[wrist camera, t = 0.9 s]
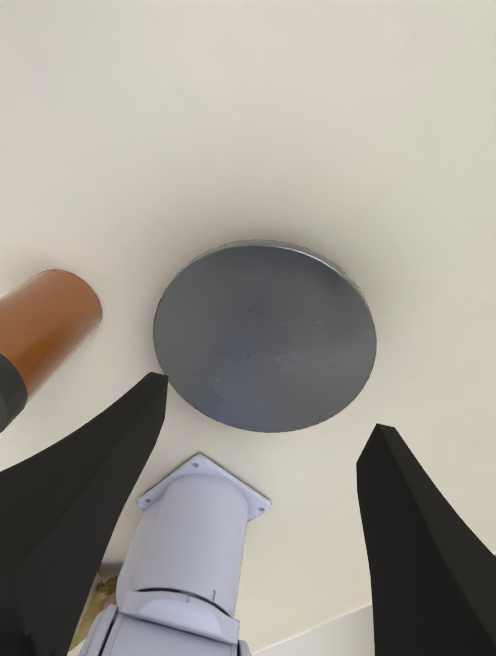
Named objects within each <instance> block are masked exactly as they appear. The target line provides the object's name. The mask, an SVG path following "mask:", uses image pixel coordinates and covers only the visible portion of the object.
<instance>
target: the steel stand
mask: <svg viewBox="0 0 496 656" xmlns="http://www.w3.org/2000/svg"><path fill="white" fill-rule="evenodd" d="M153 339H154V346H155V352H156V355H157V358H158V362H159V364H160V366H161V368H162V370H163V373H164V374H165V375H167V376H168V381H169V382H170V384H171V385H172V386H173V388H174V389H175V390H176V391H177V393H178V394H179V395H181V396H182V397H183V398H184V399H185V400H186V401H187V402H188V403H189V404H190V405H192V406H193V407H194V408H195V409H197V410H198V411H200V412H202V413H203V414H205V415H206V416H208V417H210V418H212V419H214V420H216V421H218V422H221V423H223V424H226V425H229V426H232V427H235V428H239V429H243V430H248V431H254V432H265V433H279V432H289V431H295V430H300V429H304V428H307V427H311V426H314V425H316V424H319V423H321V422H323V421H326V420H328V419H329V418H331V417H333V416H334V415H336V414H338V413H339V412H340V411H342V410H343V409H344V408H346V407H347V406H348V405H349V404H350V403H351V402H352V401H353V400H354V399H355V398H356V397H357V396H358V394H359V393H360V392H361V390H362V389H363V387H364V386H365V384H366V382H367V380H368V379H369V377H370V374H371V371H372V369H373V366H374V361H375V357H376V345H377V340H376V331H375V326H374V322H373V319H372V315H371V312H370V309H369V307H368V305H367V303H366V300H365V298H364V296H363V295H362V293H361V292H360V290H359V289H358V287H357V286H356V284H355V283H354V282H353V281H352V280H351V279H350V277H349V276H348V275H347V274H346V273H345V272H344V271H343V270H341V269H340V268H339V267H338V266H337V265H335V264H334V263H333V262H331V261H330V260H328V259H326V258H325V257H323V256H322V255H320V254H318V253H316V252H313V251H311V250H309V249H307V248H304V247H301V246H298V245H294V244H291V243H287V242H281V241H275V240H257V239H256V240H245V241H238V242H233V243H229V244H225V245H222V246H219V247H217V248H214V249H211V250H209V251H207V252H205V253H204V254H202V255H200V256H198V257H196V258H195V259H194V260H192V261H191V262H190V263H188V264H187V265H186V266H185V267H184V268H183V269H182V270H181V271H180V272H179V273H178V274H177V275H176V276H175V278H174V279H173V280H172V282H171V283H170V284H169V286H168V287H167V288H166V290H165V291H164V293H163V295H162V297H161V299H160V301H159V304H158V307H157V310H156V313H155V319H154V325H153Z"/></svg>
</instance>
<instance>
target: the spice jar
mask: <svg viewBox="0 0 496 656" xmlns="http://www.w3.org/2000/svg"><path fill="white" fill-rule="evenodd" d="M101 318H102V310H101V305H100V302H99V300H98V298H97V296H96V294H95V293H94V291H93V290H92V289H91V287H90V286H89V285H88V284H87V283H85V282H84V281H83V280H82V279H80V278H79V277H77V276H75V275H73V274H71V273H69V272H65V271H61V270H47V271H43V272H41V273H39V274H37V275H36V276H34V277H33V278H31V279H29V280H28V281H26V282H25V283H23V284H21V285H20V286H18V287H17V288H15V289H13V290H12V291H10V292H9V293H7V294H5V295H4V296H2V297H1V298H0V433H1V432H2V431H3V430H4V429H5V428H6V427H7V426H8V425H9V424H10V423H11V422H12V421H13V420H14V419H15V417H16V416H17V415H18V414H19V413H20V412H21V411H22V410H23V409H24V407H25V405H26V404H27V403H28V402H29V401H30V400H31V399H32V398H33V397H34V396H35V394H36V393H37V392H38V391H39V390H40V389H41V388H42V387H43V386H44V385H45V384H46V383H47V382H48V381H49V380H50V378H51V377H52V376H53V375H54V374H55V373H56V372H57V371H58V370H59V369H60V368H61V367H62V366H63V365H64V363H65V362H66V361H67V360H68V359H69V358H70V357H71V356H72V355H73V354H74V353H75V352H76V351H77V350H78V349H79V347H80V346H81V345H82V344H83V343H84V342H85V341H86V340H87V339H88V338H89V337H90V336H91V335H92V334H93V332H94V331H95V330H96V329H97V328H98V326H99V325H100V322H101Z"/></svg>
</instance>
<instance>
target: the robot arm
mask: <svg viewBox="0 0 496 656" xmlns="http://www.w3.org/2000/svg"><path fill="white" fill-rule="evenodd" d="M167 387H168V376H167V375H162V374H158V373H154V372H150V373H148V374H147V375H146V376H145V377H144V378H143V379H142V380H140V381H139V382H138V383H137V384H136V385H135V386H134V387H133V388H131V389H130V390H129V391H128V392H127V393H126V394H124V395H123V396H122V397H121V398H119V399H118V400H117V401H116V402H114V403H113V404H112V405H111V406H109V407H108V408H107V409H106V410H104V411H103V412H102V413H100V414H99V415H97V416H96V417H95V418H93V419H92V420H90V421H89V422H88V423H86V424H85V425H84V426H82V427H81V428H79V429H78V430H76V431H74V432H73V433H71V434H70V435H68V436H67V437H65V438H63V439H62V440H60V441H58V442H57V443H55V444H53V445H52V446H50V447H48V448H46V449H45V450H43V451H41V452H39V453H37V454H35V455H34V456H32V457H30V458H28V459H26V460H24V461H22V462H20V463H18V464H16V465H14V466H12V467H10V468H8V469H5V470H3V471H1V472H0V656H67V653H68V651H69V648H70V645H71V642H72V639H73V637H74V634H75V631H76V628H77V625H78V622H79V620H80V617H81V614H82V612H83V609H84V606H85V603H86V601H87V598H88V595H89V593H90V590H91V587H92V585H93V582H94V579H95V577H96V574H97V571H98V569H99V566H100V564H101V561H102V559H103V556H104V553H105V551H106V548H107V546H108V543H109V541H110V538H111V536H112V533H113V531H114V528H115V526H116V523H117V521H118V518H119V516H120V514H121V512H122V509H123V507H124V505H125V503H126V501H127V499H128V497H129V495H130V493H131V491H132V489H133V487H134V485H135V484H136V482H137V480H138V478H139V476H140V474H141V472H142V470H143V468H144V466H145V464H146V462H147V460H148V458H149V456H150V454H151V452H152V450H153V448H154V446H155V443H156V441H157V438H158V436H159V433H160V430H161V427H162V425H163V422H164V419H165V409H166V398H167ZM356 468H357V493H358V500H359V506H360V513H361V519H362V525H363V531H364V537H365V543H366V549H367V555H368V561H369V568H370V576H371V590H372V604H373V621H374V642H375V656H496V557H495V556H494V555H493V554H492V553H491V552H490V551H489V550H488V548H487V547H486V546H485V545H484V544H483V543H482V542H481V541H480V540H479V538H478V537H477V536H476V535H475V534H474V533H473V532H472V531H471V530H470V528H469V527H468V526H467V525H466V524H465V523H464V521H463V520H462V519H461V518H460V517H459V515H458V514H457V513H456V512H455V510H454V509H453V508H452V507H451V505H450V504H449V503H448V502H447V500H446V499H445V498H444V497H443V495H442V494H441V493H440V491H439V490H438V489H437V487H436V486H435V485H434V483H433V482H432V480H431V479H430V478H429V476H428V475H427V474H426V472H425V471H424V469H423V468H422V466H421V465H420V464H419V462H418V461H417V459H416V458H415V456H414V455H413V453H412V452H411V450H410V449H409V448H408V446H407V445H406V443H405V442H404V440H403V439H402V437H401V436H400V434H399V433H398V432H397V430H396V429H395V427H390V426H386V425H381V424H376V426H375V428H374V430H373V432H372V434H371V436H370V437H369V439H368V441H367V443H366V445H365V447H364V449H363V451H362V453H361V455H360V457H359V459H358V461H357V463H356ZM137 506H138V507H140V508H141V509H143V510H144V513H143V515H142V518H141V520H140V523H139V525H138V528H137V531H136V533H135V536H134V538H133V541H132V543H131V546H130V548H129V551H128V553H127V556H126V558H125V561H124V563H123V566H122V569H121V571H120V574H119V577H118V580H117V586H116V602H117V606H116V605H113V604H111V605H109V606H108V607H107V609H105V610H103V611H102V612H100V613H99V614H98V615H97V616H96V618H95V620H94V622H93V624H92V626H91V628H90V630H89V632H88V634H87V636H86V639H85V641H84V643H83V646H82V648H81V650H80V653H79V655H78V656H252V655H251V653H250V651H249V647H248V645H247V643H246V642H245V641H243V640H238V635H239V627H240V621H239V620H236V619H234V616H235V608H236V601H237V594H238V586H239V579H240V571H241V564H242V557H243V549H244V542H245V534H246V527H247V522H248V521H250V520H252V519H254V518H255V517H257V516H259V515H261V514H262V513H264V512H266V511H268V510H270V509H271V502H270V501H269V500H268V499H266V498H265V497H263V496H262V495H260V494H259V493H257V492H256V491H254V490H253V489H251V488H250V487H249V486H247V485H246V484H244V483H243V482H241V481H240V480H238V479H237V478H235V477H234V476H232V475H231V474H229V473H228V472H227V471H225V470H224V469H222V468H221V467H219V466H218V465H216V464H215V463H213V462H212V461H210V460H209V459H207V458H206V457H204V456H203V455H195V456H194V457H193V458H191V459H190V460H189V461H187V462H186V463H185V464H183V465H182V466H181V467H180V468H178V469H177V470H176V471H174V472H173V473H172V474H170V475H169V476H168V477H166V478H165V479H164V480H163V481H161V482H160V483H159V484H157V485H156V486H155V487H153V488H152V489H151V490H149V491H148V492H147V493H145V494H144V495H143V496H142V497H140V498H139V499H138V501H137Z"/></svg>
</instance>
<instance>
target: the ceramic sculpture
mask: <svg viewBox="0 0 496 656" xmlns="http://www.w3.org/2000/svg"><path fill="white" fill-rule="evenodd" d="M118 577H119V576H115V577H112V578H110V579H109V580H108V581H107V582H106V583H105V584H104V581H103V579H102V577H101V575H100V574H99V573H98V572H97V574H96V577H95V579H94V582H93V585H92V587H91V590H90V593H89V595H88V598H87V601H86V603H85V606H84V609H83V612H82V614H81V617H80V620H79V622H78V625H77V628H76V631H75V634H74V637H73V639H72V642H71V645H70V648H69V651H71V650H72V649H73V648H75V647H76V646H77V645H78V644H79V643H80V642H82V641H83V640H84V639H85V638H86V636H87V634H88V632H89V630H90V628H91V626H92V624H93V622H94V620H95V618H96V616H97V615H98V614H99V613H100V612H102V611H103V610H105V609H107V607H108V606H109V605H111V604H113V605H116V606H117V602H116V586H117V580H118ZM69 651H68V652H69Z"/></svg>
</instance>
